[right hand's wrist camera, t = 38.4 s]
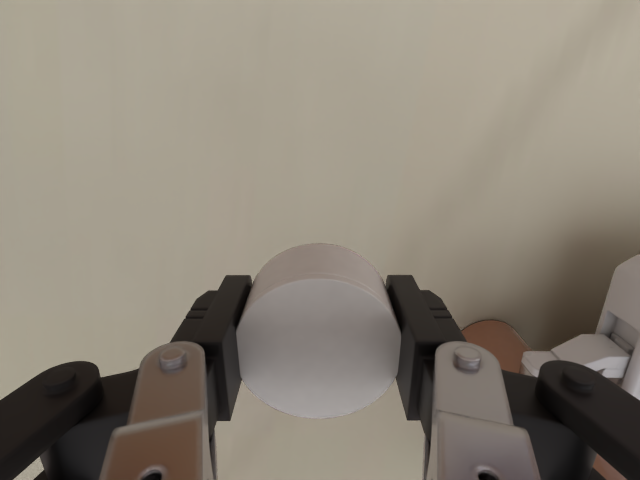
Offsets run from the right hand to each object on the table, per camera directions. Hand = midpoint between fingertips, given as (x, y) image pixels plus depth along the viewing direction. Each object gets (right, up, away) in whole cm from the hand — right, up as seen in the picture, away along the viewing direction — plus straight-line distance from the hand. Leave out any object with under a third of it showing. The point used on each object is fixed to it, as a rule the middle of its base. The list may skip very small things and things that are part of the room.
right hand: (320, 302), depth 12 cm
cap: (0, -1, -2) cm, 2 cm away
